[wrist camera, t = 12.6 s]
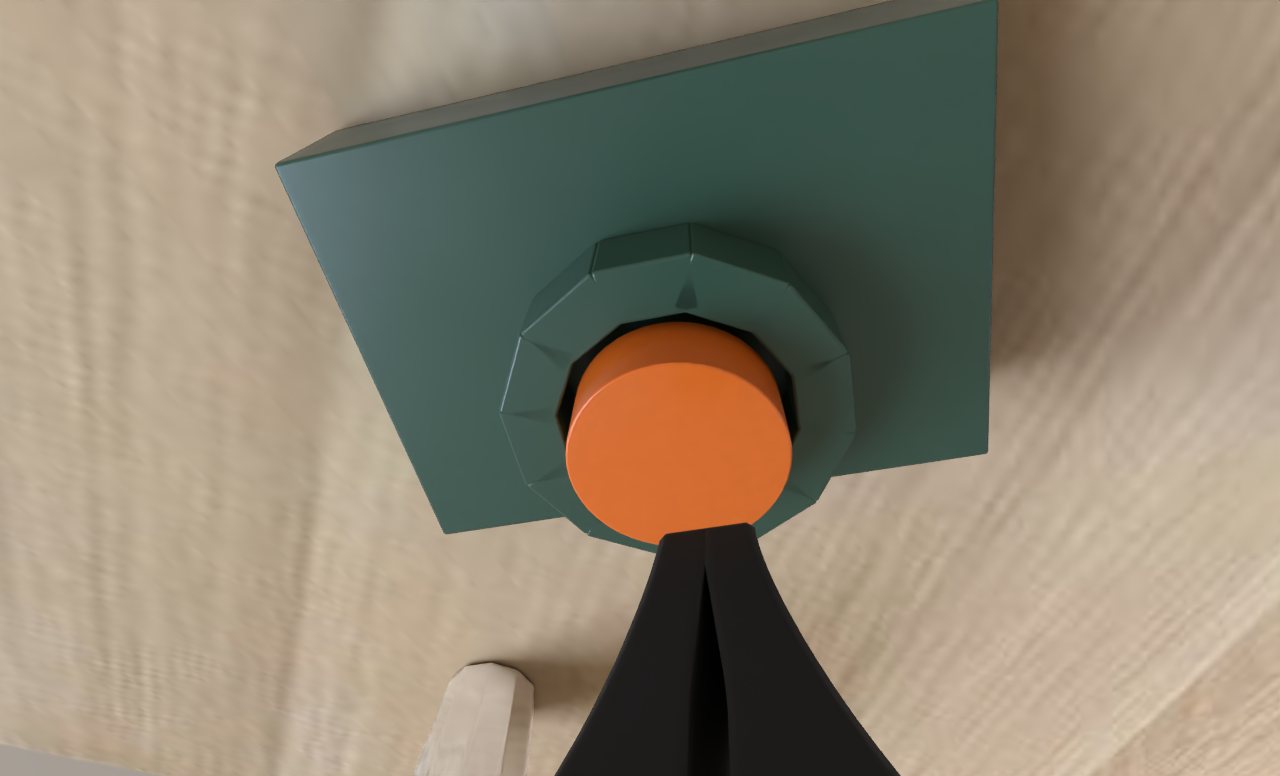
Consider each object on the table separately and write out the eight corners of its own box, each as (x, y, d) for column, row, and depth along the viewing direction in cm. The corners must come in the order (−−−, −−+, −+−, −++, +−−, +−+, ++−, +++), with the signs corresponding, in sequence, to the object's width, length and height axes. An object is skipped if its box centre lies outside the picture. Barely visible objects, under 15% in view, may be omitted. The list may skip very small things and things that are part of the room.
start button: (550, 341, 15) (537, 385, 14) (766, 302, 14) (778, 343, 13) (602, 507, 17) (595, 560, 16) (791, 478, 17) (804, 531, 15)
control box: (333, 130, 18) (225, 189, 13) (941, -12, 16) (1046, 3, 11) (472, 468, 23) (427, 590, 18) (946, 391, 21) (1019, 508, 16)
